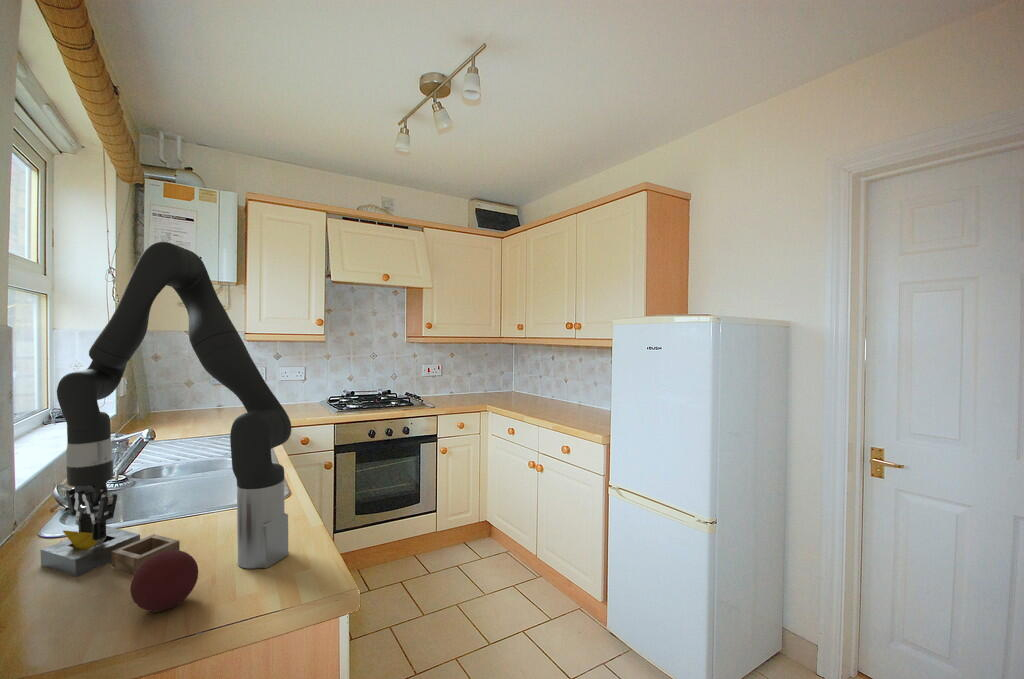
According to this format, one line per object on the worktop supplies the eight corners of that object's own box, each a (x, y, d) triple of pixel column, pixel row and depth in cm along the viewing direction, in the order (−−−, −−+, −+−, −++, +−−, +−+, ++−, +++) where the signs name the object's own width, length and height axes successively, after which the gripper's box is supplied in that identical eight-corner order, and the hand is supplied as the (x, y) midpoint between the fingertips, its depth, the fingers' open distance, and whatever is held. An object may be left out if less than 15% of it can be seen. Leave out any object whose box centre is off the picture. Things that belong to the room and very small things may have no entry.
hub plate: (140, 549, 105) (140, 534, 105) (75, 576, 94) (75, 560, 93) (106, 540, 109) (106, 525, 109) (41, 565, 98) (40, 549, 97)
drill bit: (106, 560, 100) (60, 538, 95) (90, 567, 101) (45, 545, 96) (122, 537, 104) (80, 515, 99) (107, 544, 106) (64, 522, 100)
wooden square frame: (179, 555, 102) (179, 540, 102) (138, 575, 94) (137, 558, 94) (154, 549, 105) (153, 534, 105) (111, 567, 97) (111, 551, 97)
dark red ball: (124, 608, 84) (123, 554, 83) (189, 584, 91) (188, 535, 91) (138, 632, 77) (137, 574, 77) (206, 604, 85) (205, 551, 85)
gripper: (130, 459, 101) (132, 534, 102) (90, 452, 106) (92, 524, 107) (90, 469, 94) (92, 550, 95) (48, 461, 99) (51, 539, 100)
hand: (92, 536), depth 101 cm, fingers closed on drill bit, 4 cm apart
